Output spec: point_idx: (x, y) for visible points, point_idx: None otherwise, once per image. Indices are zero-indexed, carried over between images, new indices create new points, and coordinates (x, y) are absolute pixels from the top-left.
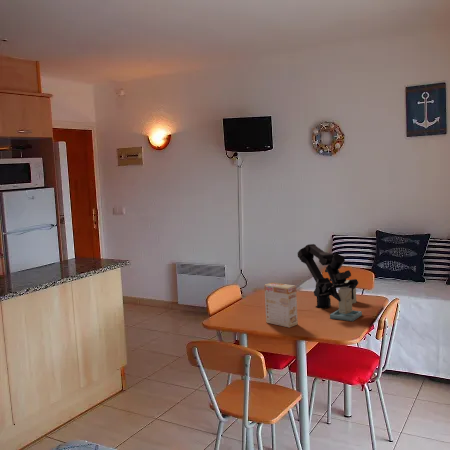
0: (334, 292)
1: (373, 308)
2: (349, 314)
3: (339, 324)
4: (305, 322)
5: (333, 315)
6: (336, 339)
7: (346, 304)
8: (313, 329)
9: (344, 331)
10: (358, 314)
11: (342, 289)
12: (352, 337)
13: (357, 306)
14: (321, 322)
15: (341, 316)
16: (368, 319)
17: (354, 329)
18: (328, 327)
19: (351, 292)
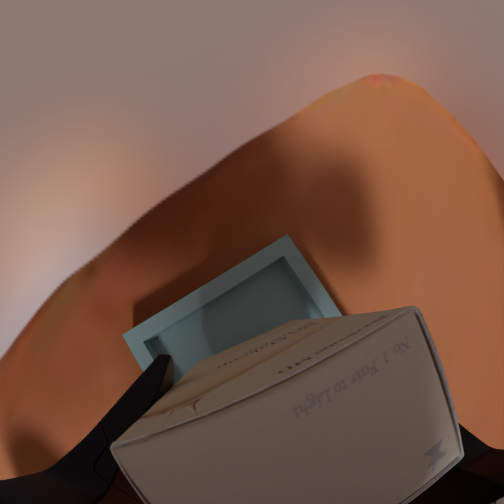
0: (471, 440)
1: (12, 396)
2: None
3: (383, 237)
4: (487, 357)
5: None
6: (440, 106)
7: (302, 322)
8: (491, 239)
9: (398, 138)
10: (182, 300)
11: (407, 443)
12: (390, 83)
13: None
14: (443, 324)
15: (337, 311)
16: (161, 227)
17: (347, 130)
18: (443, 226)
19: (151, 409)
